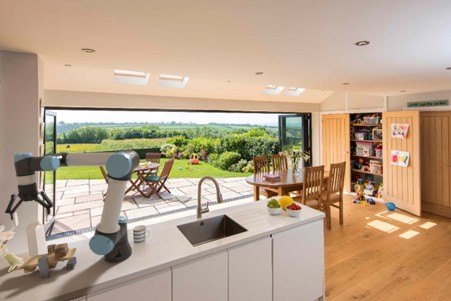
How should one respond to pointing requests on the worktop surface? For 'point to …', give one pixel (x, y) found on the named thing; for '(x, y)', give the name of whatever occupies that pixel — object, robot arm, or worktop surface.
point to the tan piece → (32, 261)
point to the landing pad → (71, 263)
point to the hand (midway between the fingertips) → (32, 223)
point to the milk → (36, 239)
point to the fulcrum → (44, 265)
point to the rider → (61, 250)
